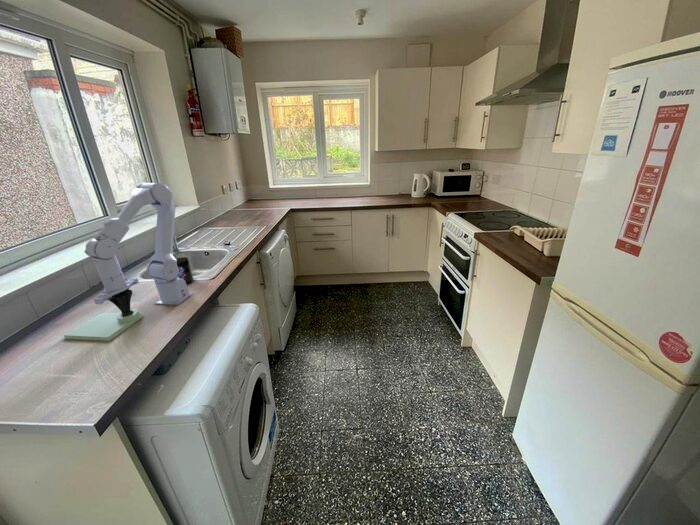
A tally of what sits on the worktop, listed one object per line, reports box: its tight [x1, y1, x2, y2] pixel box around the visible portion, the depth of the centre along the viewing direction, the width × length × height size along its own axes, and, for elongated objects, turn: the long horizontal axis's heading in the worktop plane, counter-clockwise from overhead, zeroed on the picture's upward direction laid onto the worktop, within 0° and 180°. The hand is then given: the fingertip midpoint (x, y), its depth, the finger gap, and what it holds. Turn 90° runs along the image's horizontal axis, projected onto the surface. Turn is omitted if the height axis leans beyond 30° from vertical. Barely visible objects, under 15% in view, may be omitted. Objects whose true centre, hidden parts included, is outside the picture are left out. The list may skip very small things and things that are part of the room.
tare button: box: [120, 308, 133, 317], centre depth 97 cm, size 3×3×2 cm
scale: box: [63, 308, 143, 342], centre depth 95 cm, size 16×13×3 cm
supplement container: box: [175, 256, 195, 285], centre depth 124 cm, size 7×7×10 cm
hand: (126, 311), depth 97 cm, fingers closed, pressing on tare button
